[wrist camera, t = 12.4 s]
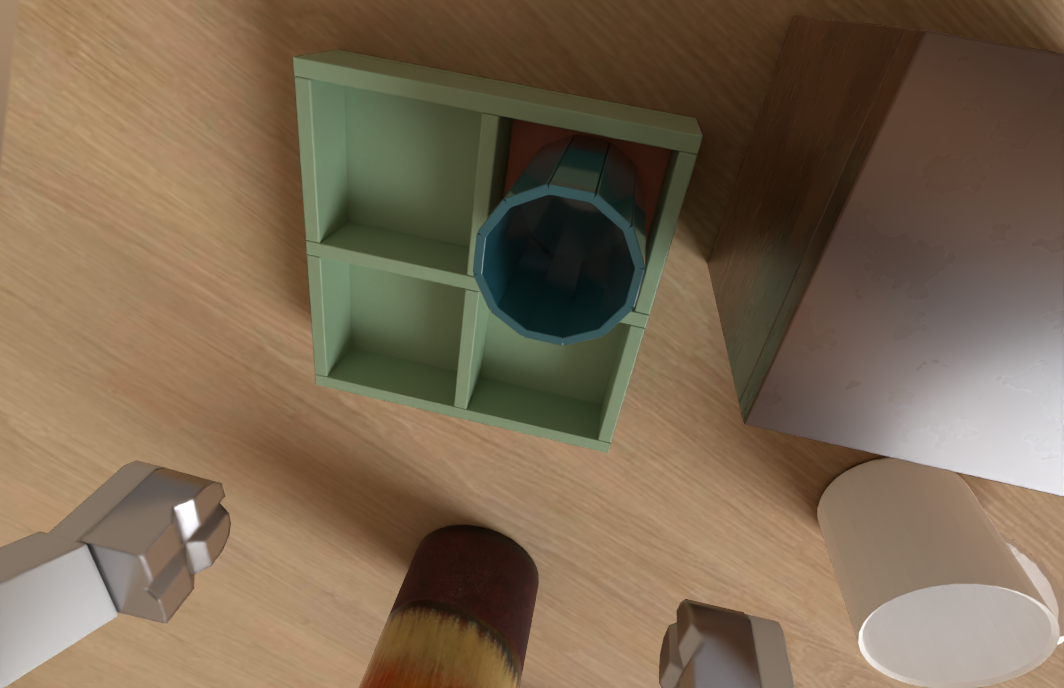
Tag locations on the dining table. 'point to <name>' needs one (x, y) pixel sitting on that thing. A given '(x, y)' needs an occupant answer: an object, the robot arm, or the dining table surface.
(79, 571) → the robot arm
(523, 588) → the vase
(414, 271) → the tray
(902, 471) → the mug
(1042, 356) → the shelf
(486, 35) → the dining table surface
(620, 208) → the cup
